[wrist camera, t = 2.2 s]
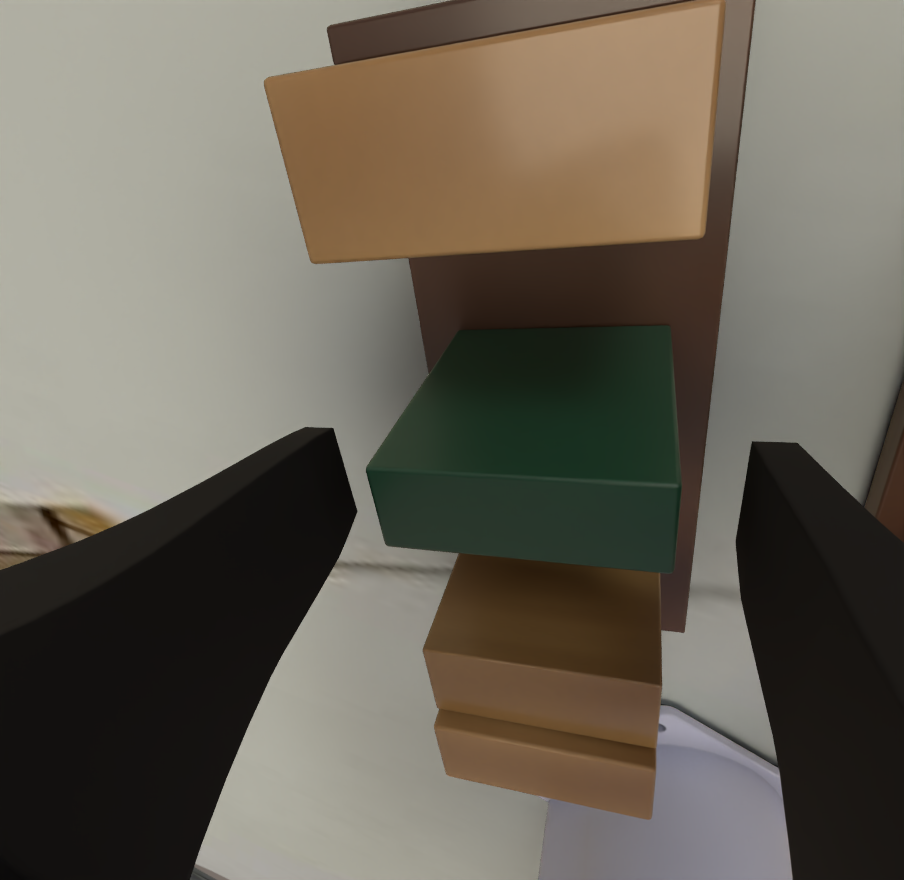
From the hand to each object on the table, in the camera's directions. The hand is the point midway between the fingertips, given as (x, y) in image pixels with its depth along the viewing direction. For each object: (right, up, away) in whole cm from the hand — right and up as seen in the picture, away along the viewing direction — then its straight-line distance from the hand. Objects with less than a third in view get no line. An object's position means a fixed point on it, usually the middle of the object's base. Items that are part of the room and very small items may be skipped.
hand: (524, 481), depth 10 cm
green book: (+1, +3, +4) cm, 5 cm away
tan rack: (+2, +2, +5) cm, 6 cm away
